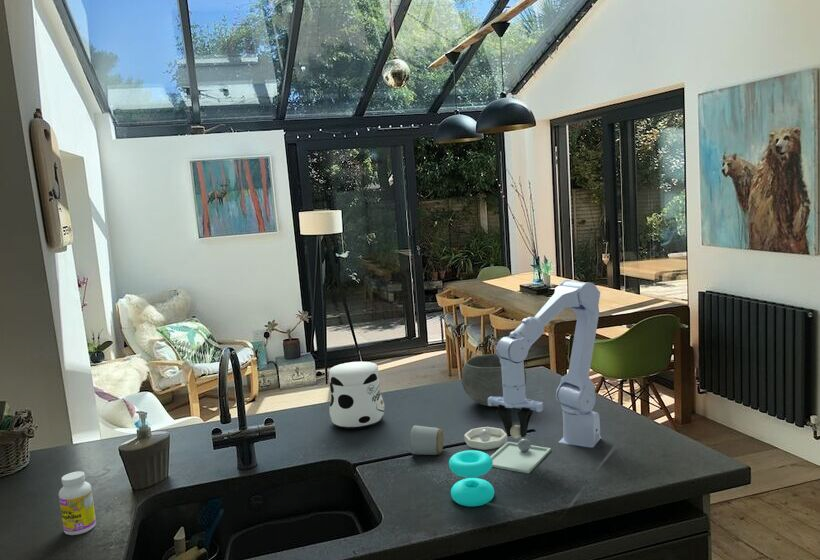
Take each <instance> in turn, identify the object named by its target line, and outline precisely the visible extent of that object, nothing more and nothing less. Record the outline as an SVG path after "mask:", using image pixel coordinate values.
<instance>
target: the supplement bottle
mask: <svg viewBox="0 0 820 560" xmlns="http://www.w3.org/2000/svg"><path fill="white" fill-rule="evenodd" d="M85 480H86V474H85V472H84V471H81V470H80V471H79V470H78V471H73V472H69V473H67V474H64V475H63V476H62V477H61V484H62V488H60V490H59V491H58V499H59V500H58V502H59V507H60V512H61V513H60V514H61V521H62V526H63V527H62V528H63V532H64V533H65V535H69V536H77V535H82V534H84V533H87V532H89V531H91V530H92V529H93V528H94V527H95V526H96V524H97V520H96V519H97V518H96V512H95V511H96V510H95V504H94V498H93V497H94V496H93V490H92V485H91V484H90V483H89V482H88V481H85Z"/></svg>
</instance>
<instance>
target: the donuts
mask: <svg viewBox="0 0 820 560" xmlns="http://www.w3.org/2000/svg"><path fill="white" fill-rule="evenodd" d="M490 456H491V455H489V454H488V453H486V452H484V451H481V450H475V449H470V450H469V449H468V450H463V451H459V452H456V453H454V454H453V455H452V456H451V457H450V458H449V459H448V467H449V469H450V471H451V472H452V473H453V474H455V475H456V476H459V477H461V478H462V477H463V478H462V479H461V480H458V481H456V482H455V483H454V484H453V485H452V487H451V488H450V496H451V498H452V500H453V501H454V502H455V503H457V504H458V505H460V506H465V507H480V506H484V505H486V504H488V503H489V502H491V501H492V499H494V497H495V488H494V486H493V485H492V484H491V483H490V482H489V481H487V480H486V479H482V478H479V477H482V476H485V475H486V474H487V473H489V472H490V471H491V469H492V468H493V467H492V465H493V461H492V458H491V457H490Z"/></svg>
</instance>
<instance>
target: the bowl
mask: <svg viewBox="0 0 820 560" xmlns="http://www.w3.org/2000/svg"><path fill="white" fill-rule="evenodd" d="M524 377H525V387H526V385H527V371H526V367H524ZM461 384H462V387H463V391H464V393H465V394H466V395H467V397H468V398H469V399H470V400H471V401H473V402H474V403H476V404H480V405H482V406H485V407H489V406H488V400H487V399H488V398H489V397H491V396H492V397H503V386H502V371H501V363H500V358H499V357H498V356H497V354H496V353H488V354H481V355H475V356H473V357H471V358H469V359H468V360H467V361H465V363H464V365H463V368H462V370H461ZM490 407H492V408H496V407H497V408H498V406H495V405H492V406H490Z"/></svg>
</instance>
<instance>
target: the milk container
mask: <svg viewBox="0 0 820 560" xmlns="http://www.w3.org/2000/svg"><path fill="white" fill-rule="evenodd" d="M379 373H380V371H379V367H378V364H377V363H375V362H371V361H351V362H344V363H340V364H337V365H334V366H332V367H331V368H330V369H329V373H328V375H329V376H328V380H329V390H330V403H329V408H328V409H329V410H328V412H329V417H330V420H331V423H333V424H334V425H335V426H336V427H339V428H341V429H348V430H349V429H352V430H353V429H362V428H368V427H372V426H374V425H376V424H378V423H379V422H380V421H381V420H383V419H384V417H385V402H384V398H383V395H382V392H381V387H380V386H381V385H380V374H379Z"/></svg>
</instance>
